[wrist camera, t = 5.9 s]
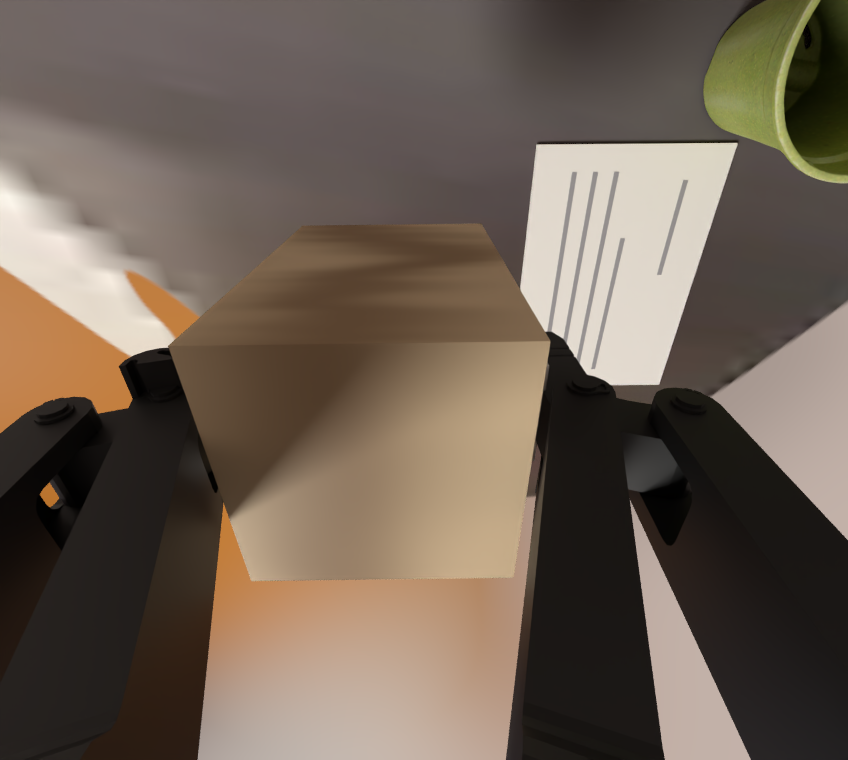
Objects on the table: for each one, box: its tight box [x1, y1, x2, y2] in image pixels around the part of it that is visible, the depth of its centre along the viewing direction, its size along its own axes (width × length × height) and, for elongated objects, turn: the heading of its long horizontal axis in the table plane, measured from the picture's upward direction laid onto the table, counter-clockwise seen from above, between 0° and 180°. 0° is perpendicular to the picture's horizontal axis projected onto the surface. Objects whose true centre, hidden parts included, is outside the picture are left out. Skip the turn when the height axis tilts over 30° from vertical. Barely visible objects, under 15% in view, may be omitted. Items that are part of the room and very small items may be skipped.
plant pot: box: [704, 0, 848, 183], centre depth 20 cm, size 9×9×9 cm
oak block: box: [168, 224, 551, 581], centre depth 12 cm, size 6×6×9 cm
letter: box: [520, 143, 738, 385], centre depth 30 cm, size 12×17×1 cm
